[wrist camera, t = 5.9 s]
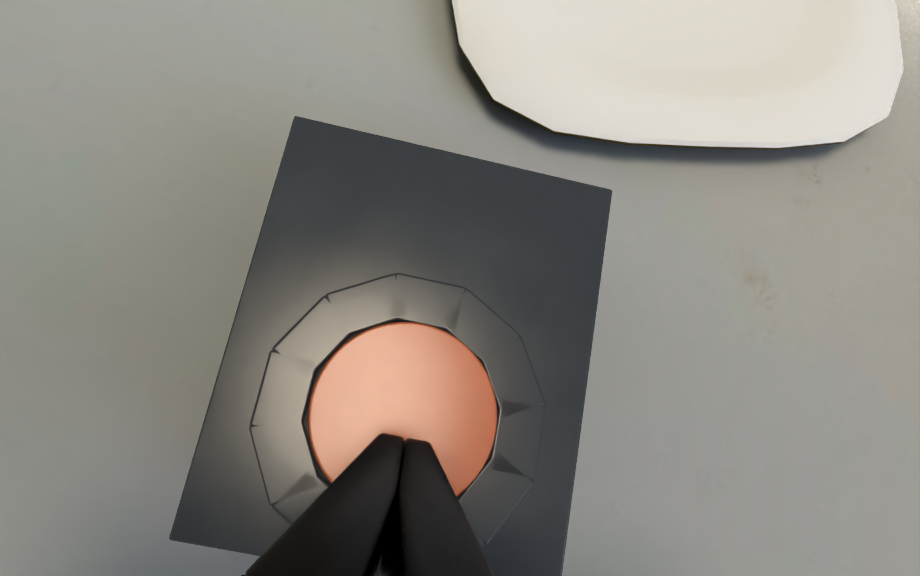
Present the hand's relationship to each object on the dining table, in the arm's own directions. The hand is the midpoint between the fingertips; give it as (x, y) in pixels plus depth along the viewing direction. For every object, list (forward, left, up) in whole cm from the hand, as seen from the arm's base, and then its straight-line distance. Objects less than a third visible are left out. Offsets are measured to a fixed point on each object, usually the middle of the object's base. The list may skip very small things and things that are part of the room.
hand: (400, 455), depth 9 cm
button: (+1, 0, -5) cm, 5 cm away
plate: (+25, -8, -13) cm, 29 cm away
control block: (+3, 0, -12) cm, 13 cm away
